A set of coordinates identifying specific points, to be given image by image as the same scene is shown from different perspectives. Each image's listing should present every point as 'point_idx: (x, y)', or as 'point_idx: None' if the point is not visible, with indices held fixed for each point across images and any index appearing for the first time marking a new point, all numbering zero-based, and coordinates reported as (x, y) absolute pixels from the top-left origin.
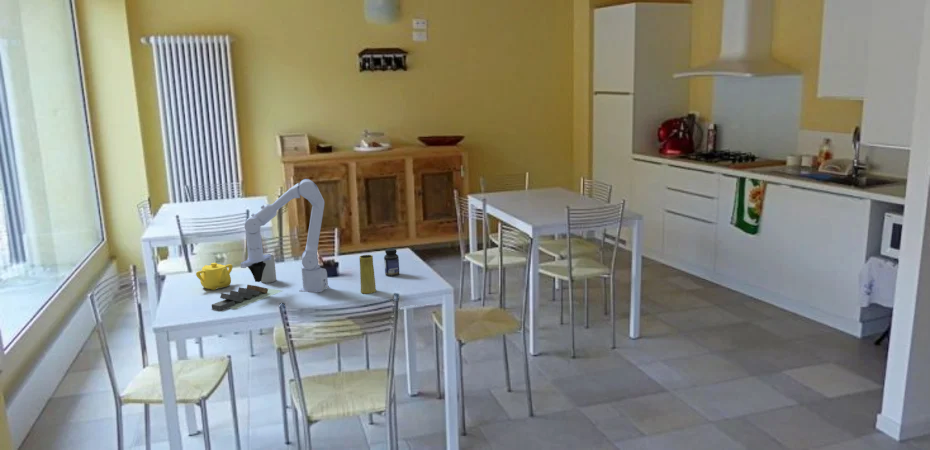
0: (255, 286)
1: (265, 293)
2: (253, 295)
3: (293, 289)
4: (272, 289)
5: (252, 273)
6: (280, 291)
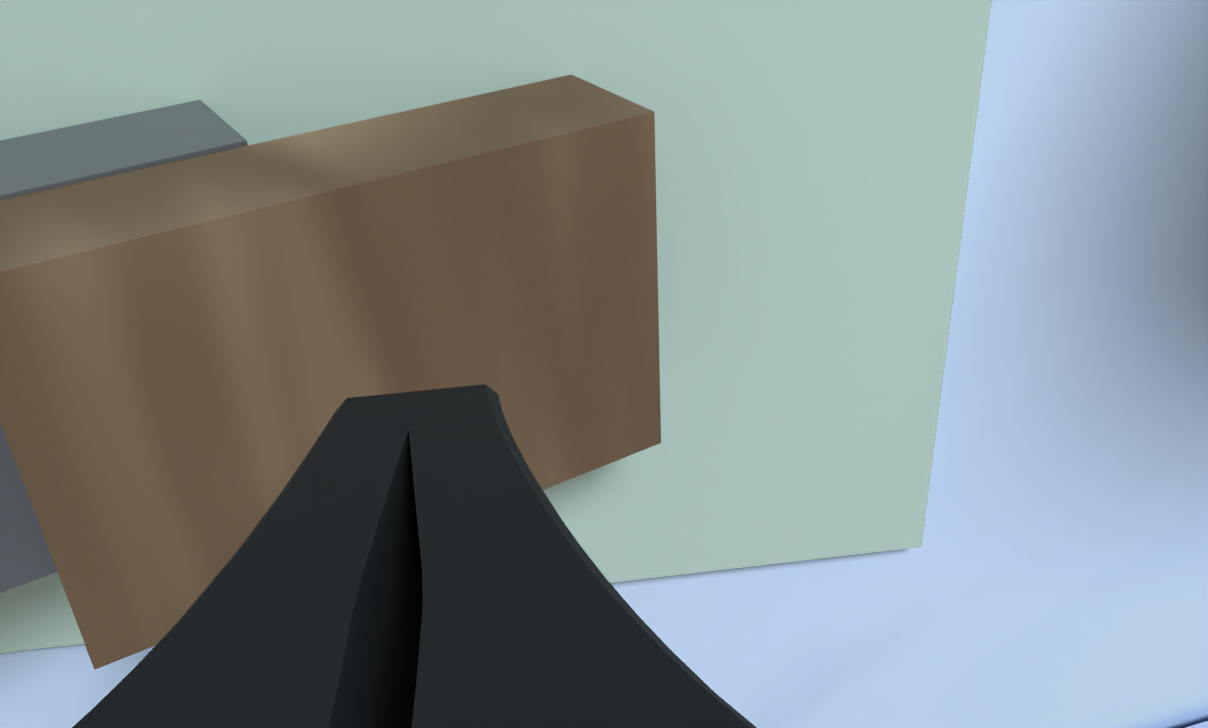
0: (90, 654)
1: None
2: None
3: (1112, 590)
4: (932, 236)
5: (162, 685)
6: (842, 540)
